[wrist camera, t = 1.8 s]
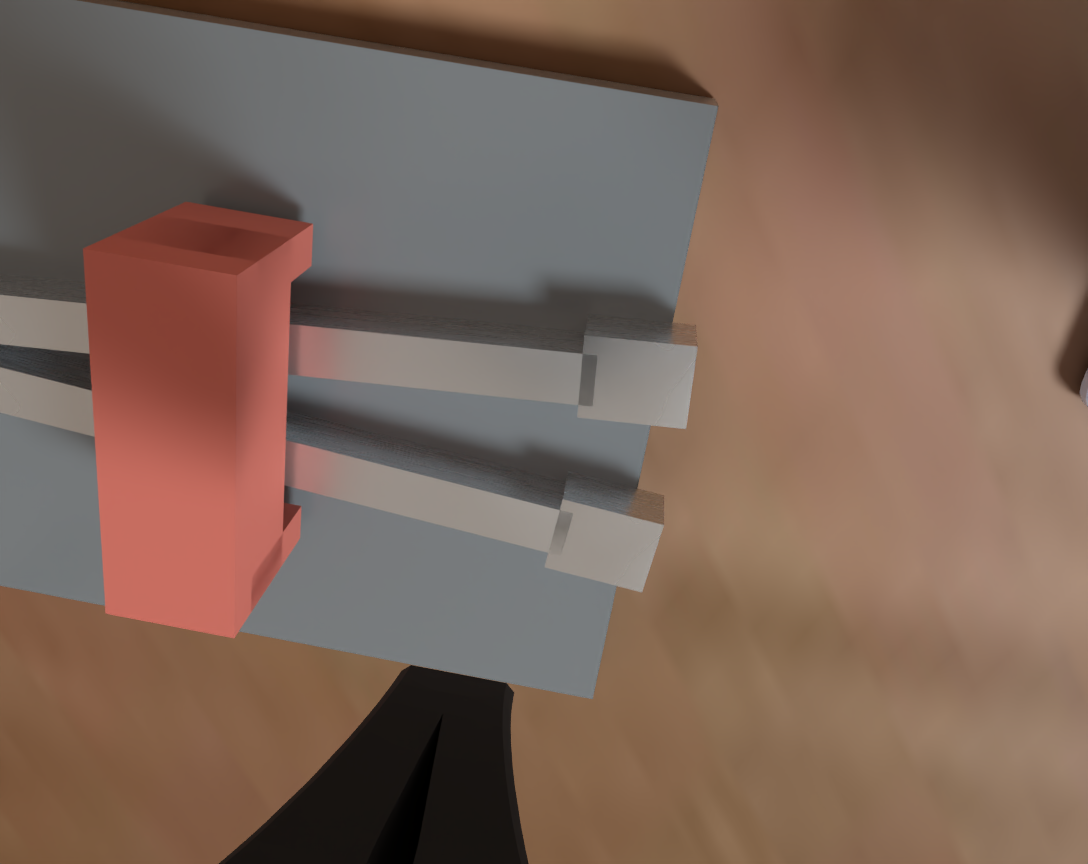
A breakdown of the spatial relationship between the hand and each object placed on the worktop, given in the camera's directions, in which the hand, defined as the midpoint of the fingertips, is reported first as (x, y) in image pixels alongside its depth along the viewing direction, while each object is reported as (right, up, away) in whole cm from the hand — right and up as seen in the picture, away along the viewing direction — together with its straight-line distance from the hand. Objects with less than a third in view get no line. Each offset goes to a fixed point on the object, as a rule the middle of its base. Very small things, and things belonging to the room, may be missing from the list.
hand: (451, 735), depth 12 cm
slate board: (-6, +6, +9) cm, 12 cm away
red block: (-5, +5, +7) cm, 10 cm away
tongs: (-6, +5, +7) cm, 11 cm away
